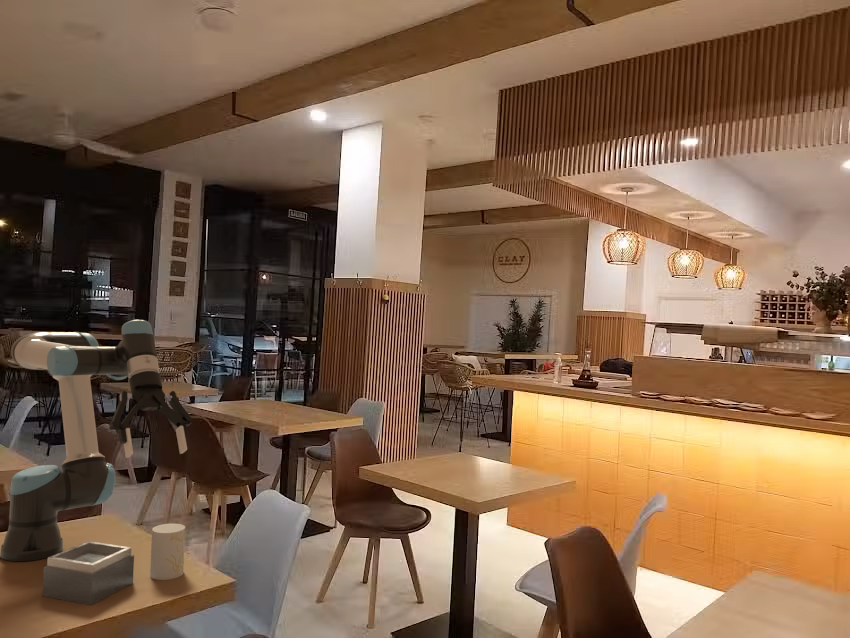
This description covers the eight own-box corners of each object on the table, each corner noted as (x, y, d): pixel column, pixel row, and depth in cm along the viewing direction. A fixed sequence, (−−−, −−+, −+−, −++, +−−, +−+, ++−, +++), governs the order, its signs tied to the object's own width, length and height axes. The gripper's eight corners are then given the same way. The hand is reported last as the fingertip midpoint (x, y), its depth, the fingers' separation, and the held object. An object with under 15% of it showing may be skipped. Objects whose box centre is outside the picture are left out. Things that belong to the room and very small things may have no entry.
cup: (171, 581, 168) (173, 534, 168) (143, 577, 169) (145, 531, 169) (189, 570, 176) (191, 525, 176) (162, 566, 177) (164, 522, 177)
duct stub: (42, 596, 156) (44, 558, 156) (87, 575, 170) (88, 540, 170) (91, 604, 152) (92, 566, 152) (132, 582, 166) (134, 547, 166)
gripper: (99, 368, 159) (111, 451, 150) (196, 370, 177) (211, 444, 168) (88, 382, 163) (98, 463, 155) (183, 382, 181) (197, 455, 173)
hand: (157, 453), depth 162 cm, fingers open, 13 cm apart
